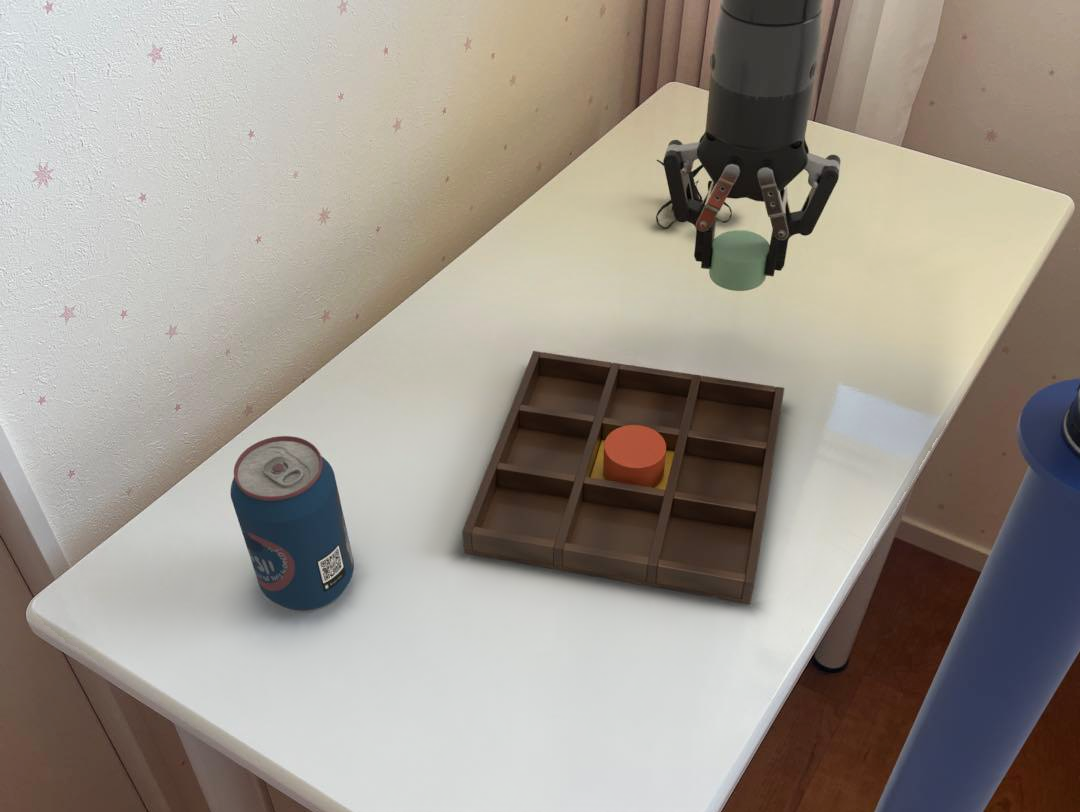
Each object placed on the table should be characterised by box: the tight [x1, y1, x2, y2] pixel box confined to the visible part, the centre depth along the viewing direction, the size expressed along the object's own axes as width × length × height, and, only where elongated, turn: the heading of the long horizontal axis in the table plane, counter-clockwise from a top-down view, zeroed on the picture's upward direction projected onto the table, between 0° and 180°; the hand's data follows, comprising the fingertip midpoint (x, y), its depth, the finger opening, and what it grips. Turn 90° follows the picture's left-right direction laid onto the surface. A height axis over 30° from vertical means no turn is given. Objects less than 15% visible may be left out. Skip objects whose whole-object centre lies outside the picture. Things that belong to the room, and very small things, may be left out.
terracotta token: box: [603, 425, 666, 488], centre depth 86 cm, size 5×5×3 cm
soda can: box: [229, 435, 355, 612], centre depth 77 cm, size 7×7×12 cm
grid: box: [461, 350, 785, 605], centre depth 87 cm, size 21×21×2 cm
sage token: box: [708, 229, 770, 292], centre depth 93 cm, size 5×5×3 cm
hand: (738, 266), depth 93 cm, fingers closed on sage token, 4 cm apart
